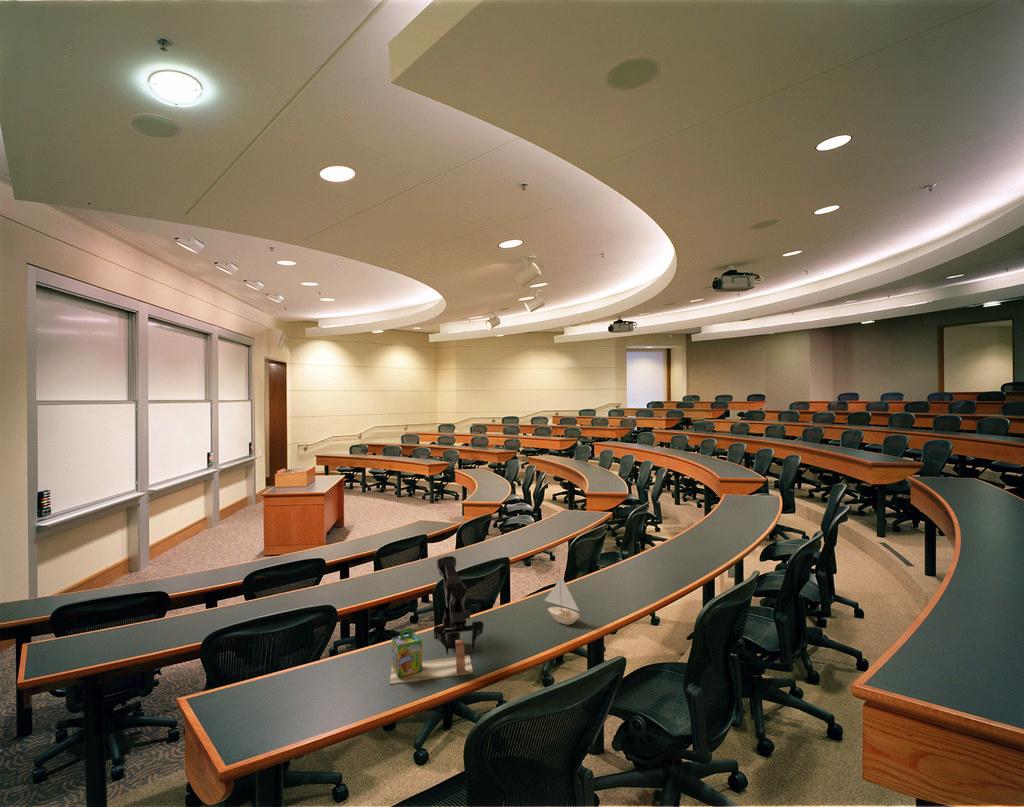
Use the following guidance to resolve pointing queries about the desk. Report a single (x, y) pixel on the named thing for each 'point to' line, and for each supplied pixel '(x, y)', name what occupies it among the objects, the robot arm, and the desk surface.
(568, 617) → the toy sailboat
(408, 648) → the chalk box
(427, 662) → the birch strip
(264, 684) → the desk surface
